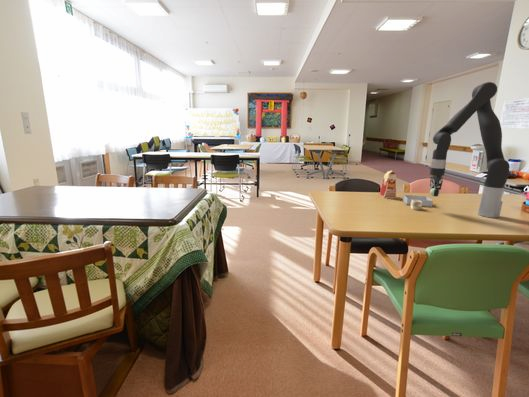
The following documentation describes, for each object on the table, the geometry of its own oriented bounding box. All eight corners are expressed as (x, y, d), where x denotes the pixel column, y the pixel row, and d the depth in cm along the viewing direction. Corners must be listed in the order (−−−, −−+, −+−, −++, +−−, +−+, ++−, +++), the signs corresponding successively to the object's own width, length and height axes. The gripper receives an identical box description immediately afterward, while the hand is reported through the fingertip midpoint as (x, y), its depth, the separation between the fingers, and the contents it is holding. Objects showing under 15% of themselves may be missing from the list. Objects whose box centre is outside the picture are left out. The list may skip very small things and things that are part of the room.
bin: (426, 201, 200) (426, 196, 199) (431, 206, 188) (432, 200, 187) (402, 200, 204) (402, 194, 203) (406, 204, 191) (407, 198, 190)
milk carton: (396, 198, 208) (400, 170, 203) (383, 198, 208) (387, 170, 204) (391, 195, 217) (394, 168, 212) (378, 195, 217) (382, 168, 212)
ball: (437, 195, 178) (438, 187, 177) (440, 197, 173) (441, 189, 172) (428, 195, 179) (429, 187, 178) (430, 197, 174) (431, 188, 173)
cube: (418, 208, 184) (420, 200, 183) (421, 210, 180) (422, 202, 178) (410, 207, 185) (411, 199, 184) (412, 209, 181) (413, 201, 180)
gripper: (449, 168, 164) (445, 198, 168) (440, 165, 178) (437, 193, 182) (435, 168, 166) (431, 197, 170) (427, 165, 180) (423, 192, 184)
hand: (434, 195), depth 176 cm, fingers closed on ball, 5 cm apart
